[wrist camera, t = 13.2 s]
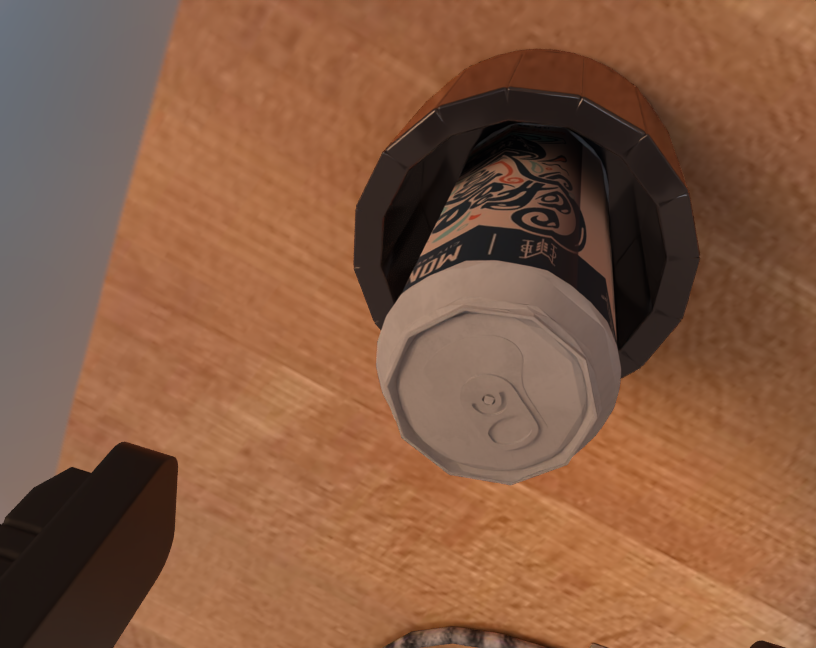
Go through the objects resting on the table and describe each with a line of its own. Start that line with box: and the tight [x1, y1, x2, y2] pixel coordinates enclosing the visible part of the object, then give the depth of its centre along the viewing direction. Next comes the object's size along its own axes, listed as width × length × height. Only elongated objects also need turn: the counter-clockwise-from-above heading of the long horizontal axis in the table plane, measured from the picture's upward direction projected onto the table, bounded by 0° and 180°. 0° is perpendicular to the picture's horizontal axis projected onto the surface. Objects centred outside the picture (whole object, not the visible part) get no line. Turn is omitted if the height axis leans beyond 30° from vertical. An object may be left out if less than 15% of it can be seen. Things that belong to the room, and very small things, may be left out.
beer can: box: [376, 123, 621, 485], centre depth 19 cm, size 5×5×12 cm
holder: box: [353, 49, 700, 378], centre depth 22 cm, size 9×9×6 cm
